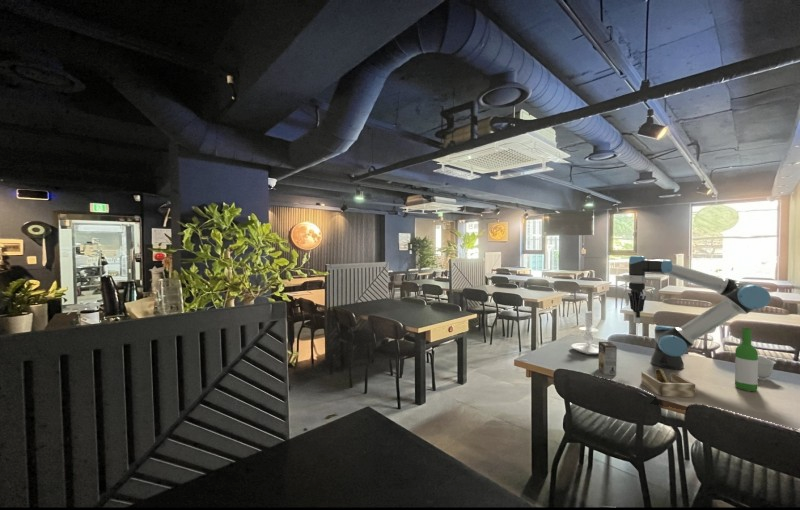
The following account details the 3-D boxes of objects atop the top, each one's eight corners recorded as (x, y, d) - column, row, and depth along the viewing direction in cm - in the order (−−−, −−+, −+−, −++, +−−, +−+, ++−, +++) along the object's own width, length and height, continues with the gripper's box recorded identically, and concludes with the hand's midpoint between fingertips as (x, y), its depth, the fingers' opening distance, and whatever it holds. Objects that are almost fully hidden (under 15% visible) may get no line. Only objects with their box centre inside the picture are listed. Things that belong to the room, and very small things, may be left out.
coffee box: (597, 368, 191) (598, 341, 191) (610, 369, 190) (610, 341, 190) (604, 374, 182) (604, 346, 182) (617, 375, 181) (617, 346, 181)
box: (673, 384, 169) (673, 372, 169) (695, 397, 155) (695, 384, 154) (641, 383, 170) (641, 372, 170) (660, 396, 156) (660, 383, 156)
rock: (651, 376, 174) (644, 378, 168) (664, 366, 170) (657, 367, 164) (671, 394, 166) (664, 397, 161) (685, 384, 162) (678, 387, 157)
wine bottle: (756, 393, 157) (757, 331, 156) (733, 387, 163) (734, 328, 162) (758, 389, 162) (759, 328, 161) (736, 383, 168) (737, 325, 167)
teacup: (775, 376, 176) (775, 358, 175) (775, 384, 166) (776, 365, 166) (743, 370, 185) (743, 352, 185) (741, 377, 175) (741, 359, 175)
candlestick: (569, 356, 213) (569, 313, 212) (572, 345, 234) (572, 306, 233) (606, 361, 202) (606, 316, 201) (606, 350, 222) (607, 309, 222)
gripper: (623, 281, 197) (623, 320, 198) (636, 283, 184) (636, 325, 185) (636, 281, 197) (636, 320, 197) (651, 283, 184) (650, 325, 184)
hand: (636, 322), depth 191 cm, fingers closed
